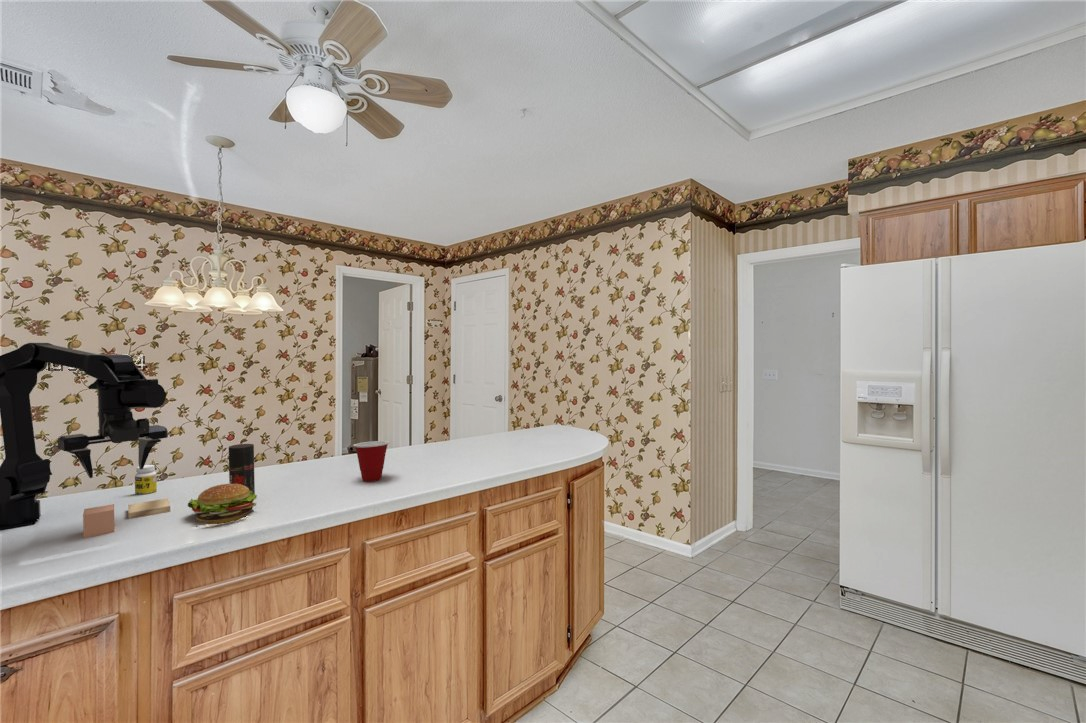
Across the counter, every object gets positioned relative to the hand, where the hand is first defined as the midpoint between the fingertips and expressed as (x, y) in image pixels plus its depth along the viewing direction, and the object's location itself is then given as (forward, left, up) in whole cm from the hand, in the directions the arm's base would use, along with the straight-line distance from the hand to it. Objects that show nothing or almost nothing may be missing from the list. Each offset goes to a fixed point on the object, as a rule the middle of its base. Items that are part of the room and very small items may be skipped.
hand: (116, 473), depth 113 cm
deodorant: (+26, +3, -13) cm, 29 cm away
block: (-3, -5, -13) cm, 14 cm away
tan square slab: (+6, +5, -12) cm, 14 cm away
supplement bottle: (+6, +25, -13) cm, 29 cm away
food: (+20, -9, -13) cm, 25 cm away
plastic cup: (+61, -1, -13) cm, 62 cm away
